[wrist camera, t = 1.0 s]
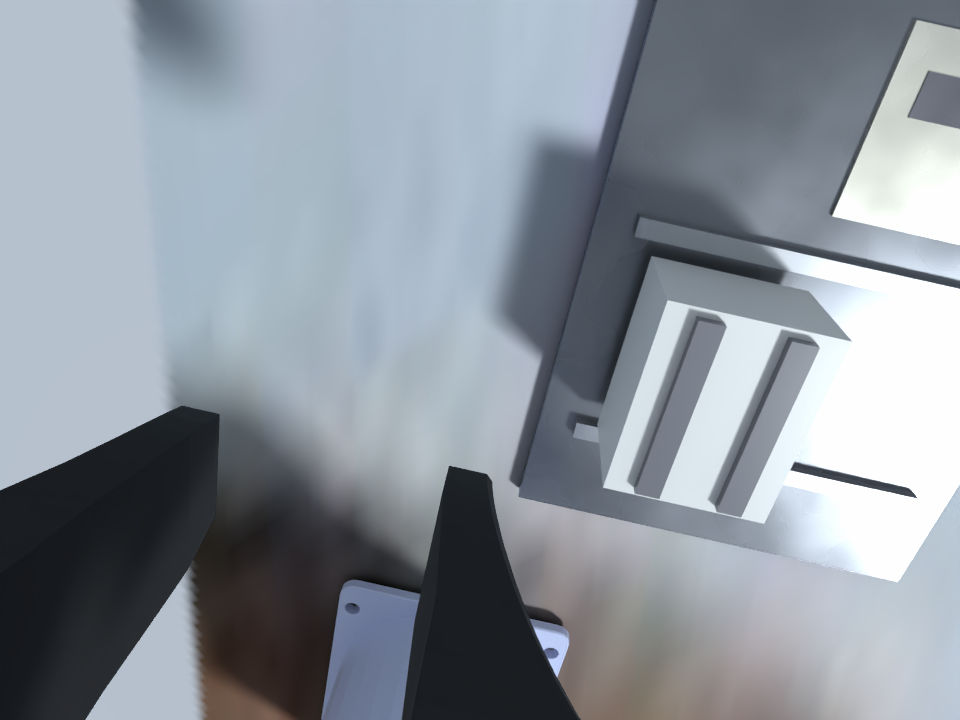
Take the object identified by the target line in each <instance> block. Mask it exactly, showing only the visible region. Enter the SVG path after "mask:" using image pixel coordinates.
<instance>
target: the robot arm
mask: <svg viewBox="0 0 960 720" xmlns="http://www.w3.org/2000/svg"><path fill="white" fill-rule="evenodd" d="M219 416H220V414H216V413H212V412H207V411H203V410H198V409H194V408H190V407H185V406H181V407H178V408H176V409H174V410H171V411H169V412H167V413H165V414H163V415H161V416H159V417H157V418H155V419H153V420H151V421H149V422H146V423H144V424H142V425H140V426H138V427H136V428H135V429H133V430H130V431H128V432H126V433H124V434H122V435H120V436H118V437H116V438H114V439H112V440H110V441H108V442H106V443H104V444H102V445H100V446H98V447H96V448H94V449H92V450H89V451H87V452H85V453H83V454H82V455H80V456H77V457H75V458H73V459H71V460H69V461H67V462H65V463H62V464H60V465H58V466H55V467H53V468H51V469H49V470H46V471H44V472H42V473H39V474H37V475H35V476H32V477H30V478H28V479H26V480H23V481H21V482H19V483H16V484H14V485H12V486H9V487H7V488H5V489H3V490H0V720H85V719H86V718H87V716H88V715H89V713H90V711H91V710H92V708H93V707H94V705H95V704H96V702H97V700H98V699H99V697H100V696H101V694H102V692H103V691H104V690H105V688H106V687H107V685H108V684H109V682H110V681H111V680H112V678H113V677H114V675H115V674H116V673H117V671H118V670H119V668H120V667H121V665H122V664H123V662H124V661H125V660H126V658H127V656H128V655H129V654H130V652H131V651H132V650H133V648H134V647H135V645H136V644H137V642H138V641H139V640H140V638H141V637H142V635H143V634H144V632H145V631H146V630H147V628H148V627H149V625H150V624H151V622H152V621H153V619H154V618H155V617H156V615H157V614H158V612H159V611H160V609H161V608H162V606H163V605H164V604H165V602H166V601H167V599H168V598H169V596H170V595H171V593H172V592H173V590H174V589H175V588H176V586H177V584H178V583H179V582H180V580H181V579H182V577H183V576H184V574H185V573H186V571H187V570H188V568H189V566H190V564H191V562H192V560H193V559H194V557H195V555H196V553H197V551H198V549H199V547H200V545H201V543H202V541H203V539H204V537H205V535H206V533H207V531H208V529H209V527H210V525H211V523H212V521H213V519H214V517H215V515H216V494H217V468H218V442H219ZM350 603H354V604H356V605H358V606H354V605H352V604H350ZM568 646H569V633H568V631H567V630H566V629H565V628H564V627H562V626H559V625H556V624H551V623H547V622H542V621H538V620H534V619H530V618H529V616H528V613H527V611H526V608H525V606H524V603H523V601H522V598H521V596H520V593H519V590H518V587H517V584H516V582H515V579H514V576H513V573H512V569H511V566H510V563H509V560H508V557H507V553H506V550H505V547H504V543H503V540H502V536H501V532H500V528H499V524H498V519H497V515H496V510H495V504H494V498H493V489H492V481H491V479H490V478H489V476H488V475H487V474H484V473H479V472H475V471H470V470H466V469H461V468H457V467H452V466H449V469H448V473H447V477H446V481H445V485H444V489H443V493H442V497H441V502H440V506H439V511H438V516H437V520H436V525H435V529H434V534H433V539H432V543H431V548H430V552H429V557H428V561H427V566H426V571H425V575H424V580H423V584H422V589H421V593H420V594H418V593H413V592H409V591H404V590H400V589H395V588H391V587H387V586H382V585H378V584H373V583H369V582H364V581H360V580H350V581H347V582H346V583H344V585H343V587H342V590H341V593H340V597H339V604H338V611H337V617H336V624H335V631H334V638H333V644H332V651H331V658H330V664H329V671H328V678H327V685H326V691H325V698H324V705H323V712H322V718H321V720H581V719H580V718H579V716H578V715H577V713H576V711H575V710H574V708H573V706H572V704H571V702H570V701H569V699H568V697H567V695H566V693H565V691H564V689H563V688H562V686H561V684H560V682H559V680H558V678H557V676H558V673H559V671H560V668H561V665H562V662H563V660H564V657H565V654H566V651H567V649H568ZM547 648H554V649H553V650H551V649H547Z"/></svg>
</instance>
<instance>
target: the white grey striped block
mask: <svg viewBox="0 0 960 720" xmlns="http://www.w3.org/2000/svg"><path fill="white" fill-rule="evenodd" d="M851 344H852V341H851V339H850V338H849V337H848V336H847V335H846V334H845V332H844V331H843V330H842V329H841V328H840V327H839V325H838V324H837V323H836V322H835V321H834V320H833V319H832V317H831V316H830V315H829V314H828V313H827V312H826V310H825V309H824V308H823V307H822V306H821V305H820V304H819V302H818V301H817V300H816V299H815V298H814V297H813V295H812V294H811V293H810V292H809V291H806V290H801V289H797V288H792V287H788V286H783V285H779V284H774V283H770V282H765V281H761V280H757V279H752V278H748V277H743V276H739V275H734V274H730V273H725V272H721V271H716V270H712V269H708V268H703V267H699V266H694V265H690V264H685V263H681V262H676V261H672V260H667V259H663V258H659V257H654V256H651V259H650V262H649V265H648V268H647V271H646V275H645V278H644V281H643V284H642V287H641V290H640V293H639V296H638V299H637V302H636V305H635V309H634V312H633V315H632V318H631V321H630V324H629V327H628V330H627V333H626V336H625V339H624V343H623V346H622V349H621V352H620V355H619V358H618V361H617V364H616V367H615V370H614V373H613V377H612V380H611V383H610V386H609V389H608V392H607V395H606V398H605V401H604V404H603V407H602V411H601V414H600V417H599V420H598V423H597V425H598V436H599V448H600V459H601V470H602V481H603V488H607V489H611V490H616V491H620V492H625V493H629V494H634V495H638V496H643V497H647V498H651V499H656V500H660V501H665V502H669V503H674V504H678V505H683V506H687V507H692V508H696V509H700V510H705V511H709V512H714V513H718V514H723V515H727V516H732V517H736V518H741V519H745V520H749V521H754V522H758V523H763V524H764V523H765V521H766V519H767V517H768V515H769V513H770V511H771V509H772V507H773V505H774V503H775V500H776V498H777V496H778V494H779V492H780V490H781V488H782V486H783V484H784V482H785V480H786V478H787V476H788V474H789V472H790V470H791V468H792V465H793V463H794V461H795V459H796V457H797V455H798V453H799V451H800V449H801V447H802V445H803V443H804V441H805V439H806V437H807V435H808V433H809V430H810V428H811V426H812V424H813V422H814V420H815V418H816V416H817V414H818V412H819V410H820V408H821V406H822V404H823V402H824V400H825V398H826V396H827V393H828V391H829V389H830V387H831V385H832V383H833V381H834V379H835V377H836V375H837V373H838V371H839V369H840V367H841V365H842V363H843V361H844V358H845V356H846V354H847V352H848V350H849V348H850V346H851Z"/></svg>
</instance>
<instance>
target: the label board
mask: <svg viewBox="0 0 960 720" xmlns="http://www.w3.org/2000/svg"><path fill="white" fill-rule="evenodd" d="M651 256H654V257H659V258H663V259H667V260H672V261H676V262H681V263H685V264H690V265H694V266H699V267H703V268H708V269H712V270H716V271H721V272H725V273H730V274H734V275H739V276H743V277H748V278H752V279H757V280H761V281H765V282H770V283H774V284H779V285H783V286H788V287H792V288H797V289H801V290H806V291H809V292H810V293H811V294H812V295H813V297H814V298H815V299H816V300H817V301H818V302H819V304H820V305H821V306H822V307H823V308H824V309H825V310H826V312H827V313H828V314H829V315H830V316H831V317H832V319H833V320H834V321H835V322H836V323H837V324H838V325H839V327H840V328H841V329H842V330H843V331H844V332H845V334H846V335H847V336H848V337H849V338H850V339H851V341H852V344H851V346H850V348H849V350H848V352H847V354H846V356H845V358H844V361H843V363H842V365H841V367H840V369H839V371H838V373H837V375H836V377H835V379H834V381H833V383H832V385H831V387H830V389H829V391H828V393H827V396H826V398H825V400H824V402H823V404H822V406H821V408H820V410H819V412H818V414H817V416H816V418H815V420H814V422H813V424H812V426H811V428H810V430H809V433H808V435H807V437H806V439H805V441H804V443H803V445H802V447H801V449H800V451H799V453H798V455H797V457H796V459H795V461H794V463H793V465H792V468H791V470H790V472H789V474H788V476H787V478H786V480H785V482H784V484H783V486H782V488H781V490H780V492H779V494H778V496H777V498H776V500H775V503H774V505H773V507H772V509H771V511H770V513H769V515H768V517H767V519H766V521H765V523H764V524H763V523H758V522H754V521H749V520H745V519H741V518H736V517H732V516H727V515H723V514H718V513H714V512H709V511H705V510H700V509H696V508H692V507H687V506H683V505H678V504H674V503H669V502H665V501H660V500H656V499H651V498H647V497H643V496H638V495H634V494H629V493H625V492H620V491H616V490H611V489H607V488H603V481H602V470H601V459H600V448H599V436H598V425H597V423H598V420H599V417H600V414H601V411H602V407H603V404H604V401H605V398H606V395H607V392H608V389H609V386H610V383H611V380H612V377H613V373H614V370H615V367H616V364H617V361H618V358H619V355H620V352H621V349H622V346H623V343H624V339H625V336H626V333H627V330H628V327H629V324H630V321H631V318H632V315H633V312H634V309H635V305H636V302H637V299H638V296H639V293H640V290H641V287H642V284H643V281H644V278H645V275H646V271H647V268H648V265H649V262H650V259H651ZM959 483H960V0H655V3H654V7H653V10H652V14H651V18H650V21H649V25H648V28H647V32H646V36H645V39H644V43H643V46H642V50H641V54H640V57H639V61H638V64H637V68H636V72H635V75H634V79H633V82H632V86H631V89H630V93H629V97H628V100H627V104H626V107H625V111H624V115H623V118H622V122H621V125H620V129H619V133H618V136H617V140H616V143H615V147H614V151H613V154H612V158H611V161H610V165H609V168H608V172H607V176H606V179H605V183H604V186H603V190H602V194H601V197H600V201H599V204H598V208H597V212H596V215H595V219H594V222H593V226H592V230H591V233H590V237H589V240H588V244H587V247H586V251H585V255H584V258H583V262H582V265H581V269H580V273H579V276H578V280H577V283H576V287H575V291H574V294H573V298H572V301H571V305H570V309H569V312H568V316H567V319H566V323H565V326H564V330H563V334H562V337H561V341H560V344H559V348H558V352H557V355H556V359H555V362H554V366H553V370H552V373H551V377H550V380H549V384H548V388H547V391H546V395H545V398H544V402H543V405H542V409H541V413H540V416H539V420H538V423H537V427H536V431H535V434H534V438H533V441H532V445H531V449H530V452H529V456H528V459H527V463H526V466H525V470H524V474H523V477H522V481H521V484H520V488H519V497H521V498H526V499H530V500H535V501H539V502H544V503H548V504H553V505H557V506H562V507H566V508H570V509H575V510H579V511H584V512H588V513H593V514H597V515H602V516H606V517H611V518H615V519H619V520H624V521H628V522H633V523H637V524H642V525H646V526H651V527H655V528H660V529H664V530H668V531H673V532H677V533H682V534H686V535H691V536H695V537H700V538H704V539H709V540H713V541H717V542H722V543H726V544H731V545H735V546H740V547H744V548H749V549H753V550H758V551H762V552H766V553H771V554H775V555H780V556H784V557H789V558H793V559H798V560H802V561H807V562H811V563H815V564H820V565H824V566H829V567H833V568H838V569H842V570H847V571H851V572H856V573H860V574H864V575H869V576H873V577H878V578H882V579H887V580H891V581H896V582H898V581H899V579H900V578H901V576H902V575H903V573H904V571H905V570H906V568H907V567H908V565H909V563H910V562H911V560H912V559H913V557H914V555H915V554H916V552H917V551H918V549H919V547H920V546H921V544H922V543H923V541H924V539H925V538H926V536H927V535H928V533H929V531H930V530H931V528H932V526H933V525H934V523H935V522H936V520H937V518H938V517H939V515H940V514H941V512H942V510H943V509H944V507H945V506H946V504H947V502H948V501H949V499H950V498H951V496H952V494H953V493H954V491H955V490H956V488H957V486H958V485H959Z"/></svg>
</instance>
